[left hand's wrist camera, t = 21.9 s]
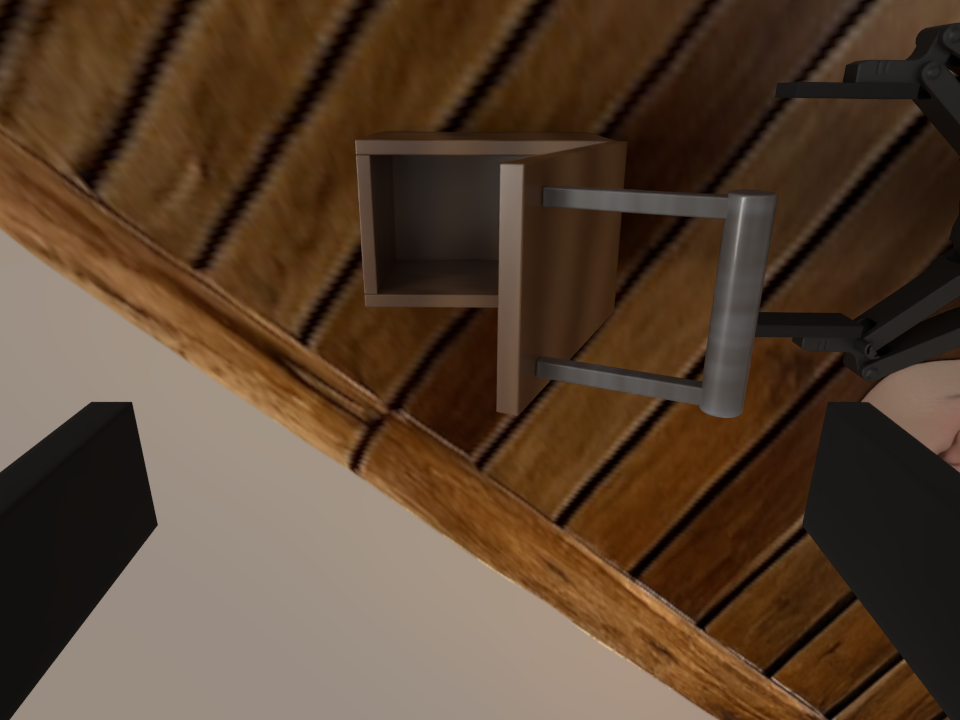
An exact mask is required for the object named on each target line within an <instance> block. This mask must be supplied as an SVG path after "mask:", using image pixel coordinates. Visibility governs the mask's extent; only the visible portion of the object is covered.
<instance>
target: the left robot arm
mask: <svg viewBox="0 0 960 720" xmlns="http://www.w3.org/2000/svg"><path fill="white" fill-rule="evenodd" d="M157 525H158V524H157V519H156V515H155V510H154V505H153V500H152V495H151V491H150V486H149V481H148V476H147V472H146V467H145V462H144V457H143V452H142V448H141V443H140V438H139V433H138V428H137V424H136V419H135V414H134V409H133V405H132V402H91V403H89V404H88V405H87V406H86V407H84V408H83V409H82V410H80V411H79V412H78V413H77V414H75V415H74V416H73V417H71V418H70V419H69V420H67V421H66V422H65V423H64V424H62V425H61V426H60V427H58V428H57V429H56V430H54V431H53V432H52V433H51V434H49V435H48V436H47V437H45V438H44V439H43V440H42V441H40V442H39V443H38V444H36V445H35V446H34V447H33V448H31V449H30V450H29V451H27V452H26V453H25V454H24V455H22V456H21V457H20V458H18V459H17V460H16V461H14V462H13V463H12V464H11V465H9V466H8V467H7V468H5V469H4V470H3V471H1V472H0V720H10V719H11V717H12V716H13V715H14V713H15V712H16V711H17V709H18V708H19V707H20V705H21V704H22V703H23V701H24V700H25V699H26V697H27V696H28V695H29V694H30V692H31V691H32V690H33V688H34V687H35V686H36V684H37V683H38V682H39V680H40V679H41V678H42V676H43V675H44V674H45V672H46V671H47V670H48V668H49V667H50V666H51V665H52V663H53V662H54V661H55V659H56V658H57V657H58V655H59V654H60V653H61V652H62V650H63V649H64V648H65V646H66V645H67V644H68V642H69V641H70V640H71V638H72V637H73V636H74V634H75V633H76V632H77V631H78V629H79V628H80V627H81V625H82V624H83V623H84V621H85V620H86V619H87V617H88V616H89V615H90V613H91V612H92V611H93V609H94V608H95V607H96V605H97V604H98V603H99V602H100V600H101V599H102V598H103V596H104V595H105V594H106V592H107V591H108V590H109V588H110V587H111V586H112V584H113V583H114V582H115V581H116V579H117V578H118V577H119V575H120V574H121V573H122V571H123V570H124V569H125V567H126V566H127V565H128V563H129V562H130V561H131V560H132V558H133V557H134V556H135V554H136V553H137V552H138V550H139V549H140V548H141V546H142V545H143V544H144V542H145V541H146V540H147V539H148V537H149V536H150V535H151V533H152V532H153V531H154V529H155V528H156V527H157ZM802 525H803V527H804V528H805V529H806V531H807V532H808V533H809V535H810V536H811V537H812V539H813V540H814V541H815V542H816V544H817V545H818V546H819V548H820V549H821V550H822V552H823V553H824V554H825V556H826V557H827V558H828V560H829V561H830V562H831V563H832V565H833V566H834V567H835V569H836V570H837V571H838V573H839V574H840V575H841V577H842V578H843V579H844V581H845V582H846V583H847V585H848V586H849V587H850V588H851V590H852V591H853V592H854V594H855V595H856V596H857V598H858V599H859V600H860V602H861V603H862V604H863V606H864V607H865V608H866V609H867V611H868V612H869V613H870V615H871V616H872V617H873V619H874V620H875V621H876V623H877V624H878V625H879V627H880V628H881V629H882V631H883V632H884V633H885V634H886V636H887V637H888V638H889V640H890V641H891V642H892V644H893V645H894V646H895V648H896V649H897V650H898V652H899V653H900V654H901V655H902V657H903V658H904V659H905V661H906V662H907V663H908V665H909V666H910V667H911V669H912V670H913V671H914V673H915V674H916V675H917V676H918V678H919V679H920V680H921V682H922V683H923V684H924V686H925V687H926V688H927V690H928V691H929V692H930V694H931V695H932V696H933V698H934V699H935V700H936V701H937V703H938V704H939V705H940V707H941V708H942V709H943V711H944V712H945V713H946V715H947V716H948V717H949V719H950V720H960V472H959V471H957V470H956V469H955V468H953V467H952V466H951V465H949V464H948V463H947V462H946V461H944V460H943V459H942V458H940V457H939V456H938V455H937V454H935V453H934V452H933V451H931V450H930V449H929V448H927V447H926V446H925V445H924V444H922V443H921V442H920V441H918V440H917V439H916V438H915V437H913V436H912V435H911V434H909V433H908V432H907V431H906V430H904V429H903V428H902V427H900V426H899V425H898V424H896V423H895V422H894V421H893V420H891V419H890V418H889V417H887V416H886V415H885V414H884V413H882V412H881V411H880V410H878V409H877V408H876V407H874V406H873V405H872V404H871V403H869V402H828V405H827V409H826V414H825V419H824V424H823V428H822V433H821V438H820V443H819V448H818V452H817V457H816V462H815V467H814V471H813V476H812V481H811V486H810V491H809V495H808V500H807V505H806V510H805V514H804V519H803V524H802Z"/></svg>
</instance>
